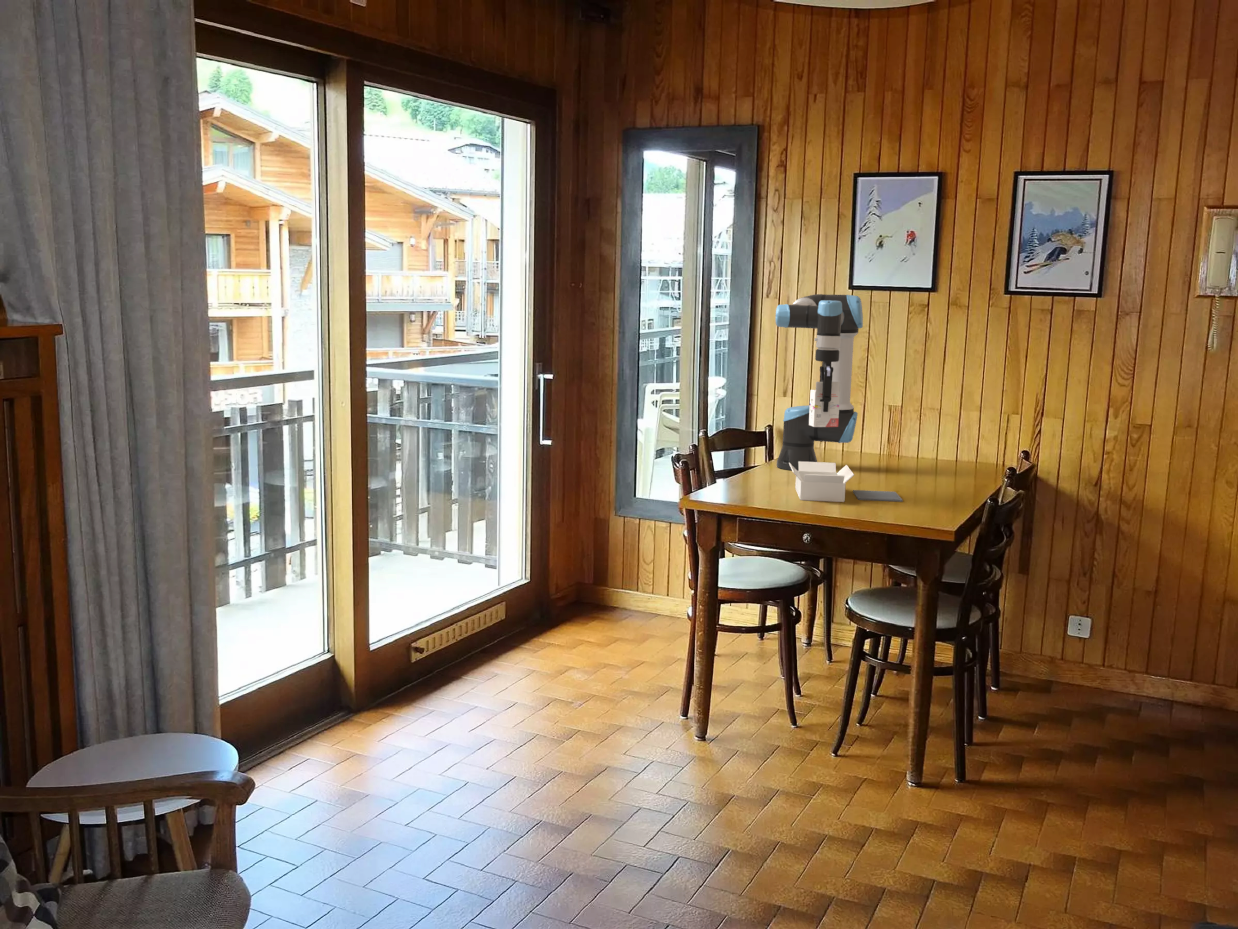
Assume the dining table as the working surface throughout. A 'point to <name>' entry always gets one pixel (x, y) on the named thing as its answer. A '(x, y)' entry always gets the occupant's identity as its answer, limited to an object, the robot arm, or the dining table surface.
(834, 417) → the ink cartridge box
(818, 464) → the carton
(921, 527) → the dining table surface
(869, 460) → the dining table surface
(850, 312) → the robot arm
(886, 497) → the mat
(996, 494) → the dining table surface
